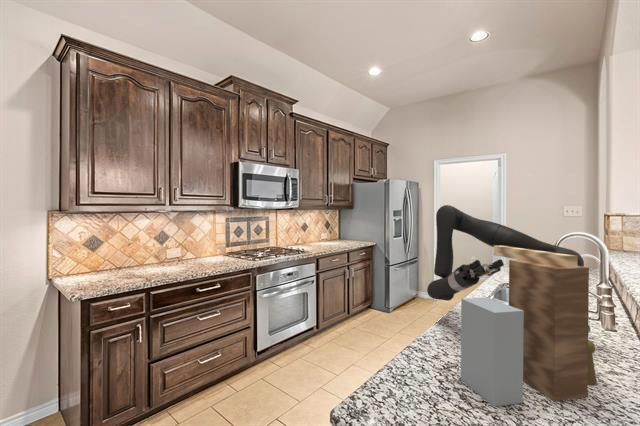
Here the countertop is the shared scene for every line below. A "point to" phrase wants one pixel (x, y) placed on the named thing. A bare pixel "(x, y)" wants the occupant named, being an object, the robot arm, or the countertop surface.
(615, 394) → the countertop surface
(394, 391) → the countertop surface
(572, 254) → the robot arm
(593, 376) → the cork
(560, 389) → the tall walnut stand
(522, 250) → the beech bar
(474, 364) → the grey rectangular block
